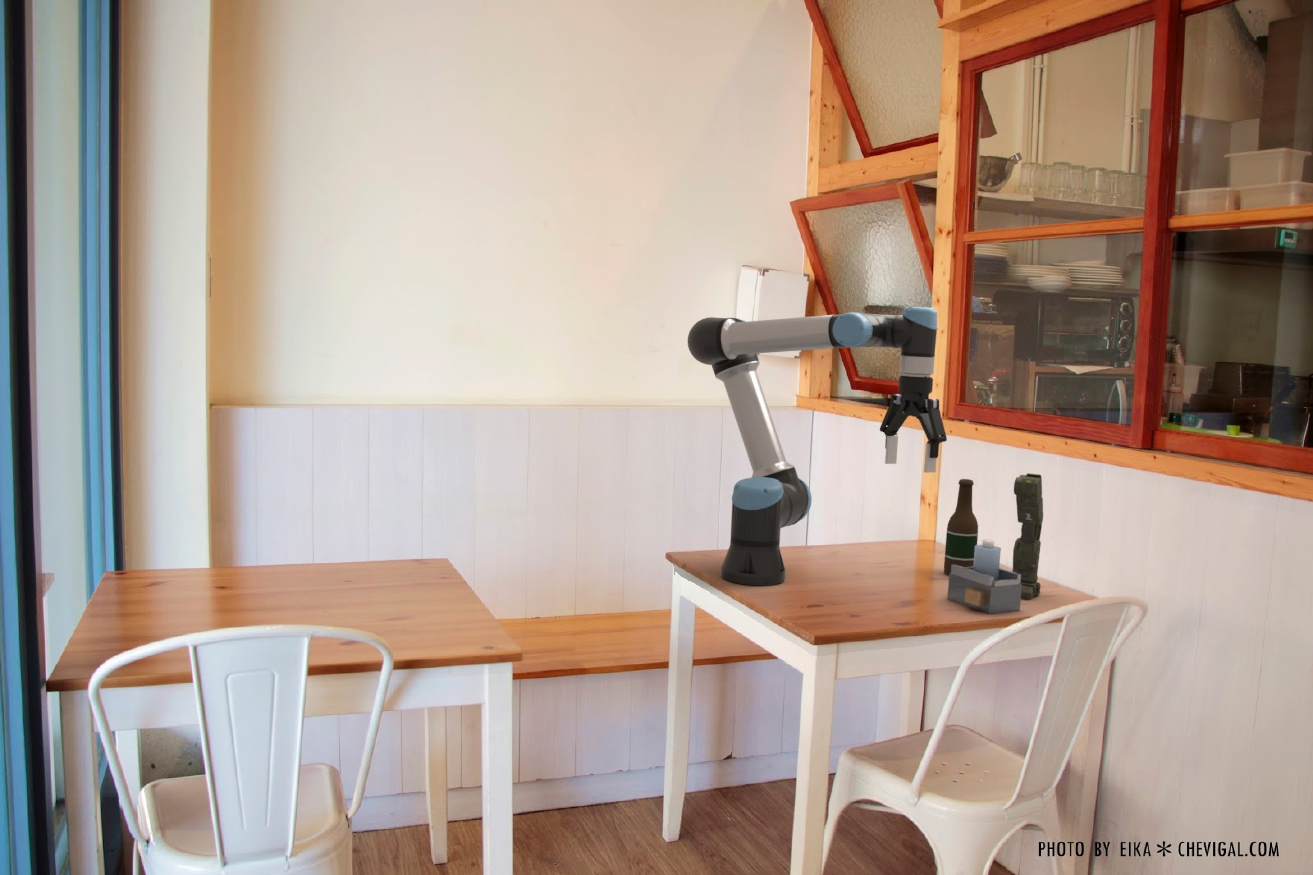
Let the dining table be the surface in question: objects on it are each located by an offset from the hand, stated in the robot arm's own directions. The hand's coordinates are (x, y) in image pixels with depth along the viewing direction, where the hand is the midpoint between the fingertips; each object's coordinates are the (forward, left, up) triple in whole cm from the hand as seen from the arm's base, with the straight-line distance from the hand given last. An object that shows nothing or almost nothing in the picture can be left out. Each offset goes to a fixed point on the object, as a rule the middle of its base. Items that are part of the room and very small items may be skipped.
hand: (909, 468), depth 242 cm
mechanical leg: (+12, +26, -29) cm, 41 cm away
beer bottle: (-8, +25, -29) cm, 39 cm away
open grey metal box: (+15, +9, -29) cm, 34 cm away
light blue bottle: (+16, +10, -23) cm, 30 cm away
